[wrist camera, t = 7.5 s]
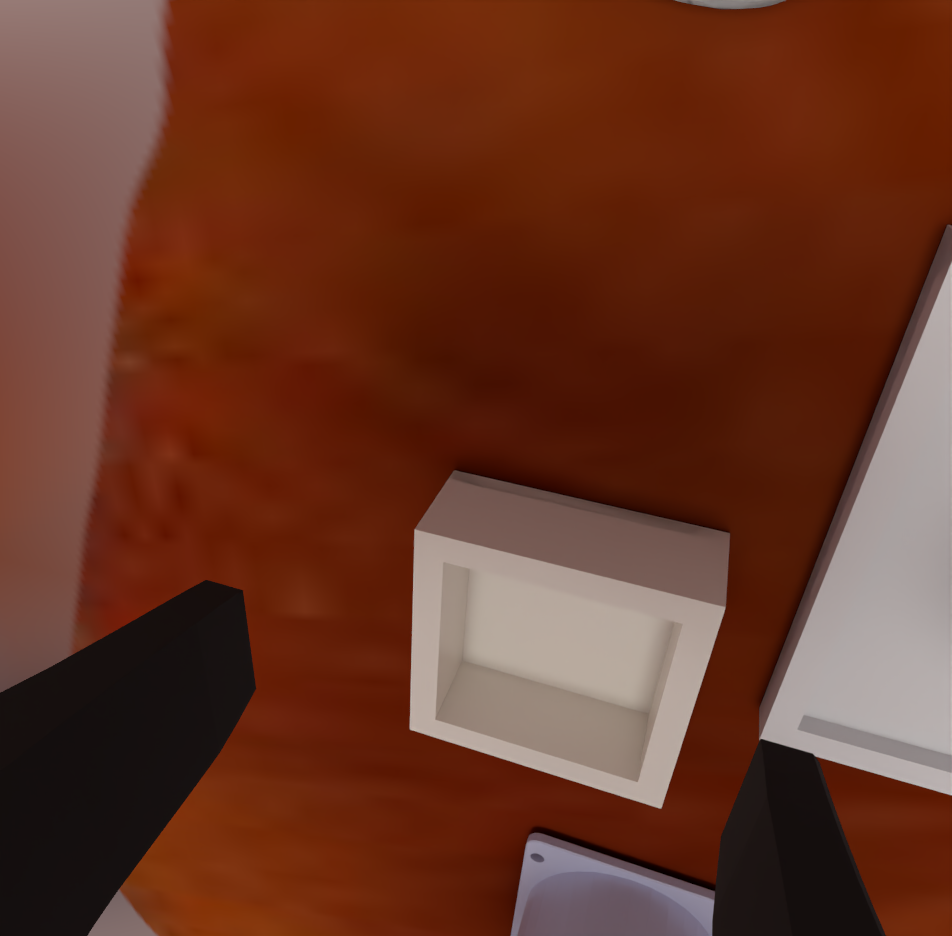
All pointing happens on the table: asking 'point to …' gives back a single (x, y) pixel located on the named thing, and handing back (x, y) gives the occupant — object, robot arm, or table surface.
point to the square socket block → (562, 631)
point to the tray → (884, 581)
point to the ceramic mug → (732, 3)
